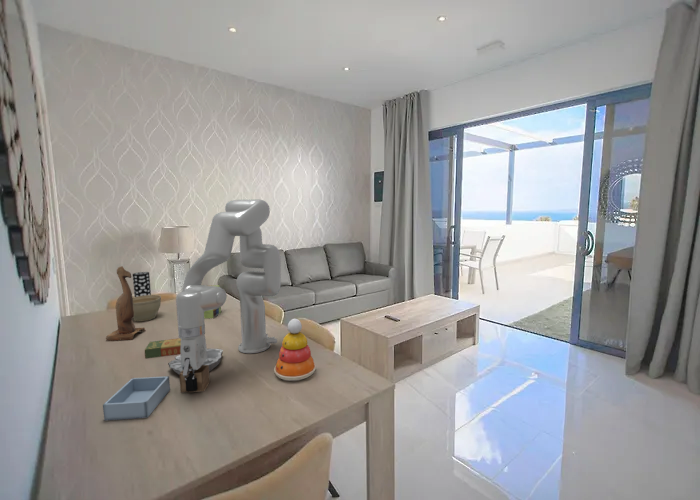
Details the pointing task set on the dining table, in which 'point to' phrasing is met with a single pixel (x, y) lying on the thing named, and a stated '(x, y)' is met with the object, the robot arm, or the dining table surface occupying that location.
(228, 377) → the dining table surface
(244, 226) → the robot arm
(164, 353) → the carton
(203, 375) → the walnut crate
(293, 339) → the stacking toy
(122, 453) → the dining table surface
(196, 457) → the dining table surface
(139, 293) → the spotted tube
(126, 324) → the bird sculpture
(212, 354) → the brain slice
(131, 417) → the blue tray
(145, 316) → the planter bowl
